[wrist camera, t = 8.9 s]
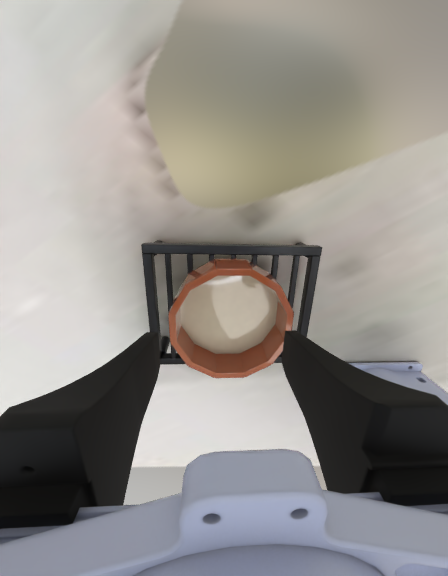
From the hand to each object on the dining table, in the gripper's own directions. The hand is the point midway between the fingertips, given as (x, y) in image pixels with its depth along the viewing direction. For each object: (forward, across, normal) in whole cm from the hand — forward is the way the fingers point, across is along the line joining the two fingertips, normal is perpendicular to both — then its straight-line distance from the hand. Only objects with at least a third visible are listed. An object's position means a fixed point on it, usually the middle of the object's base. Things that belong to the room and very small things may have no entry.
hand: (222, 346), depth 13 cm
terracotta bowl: (+7, -1, +1) cm, 7 cm away
